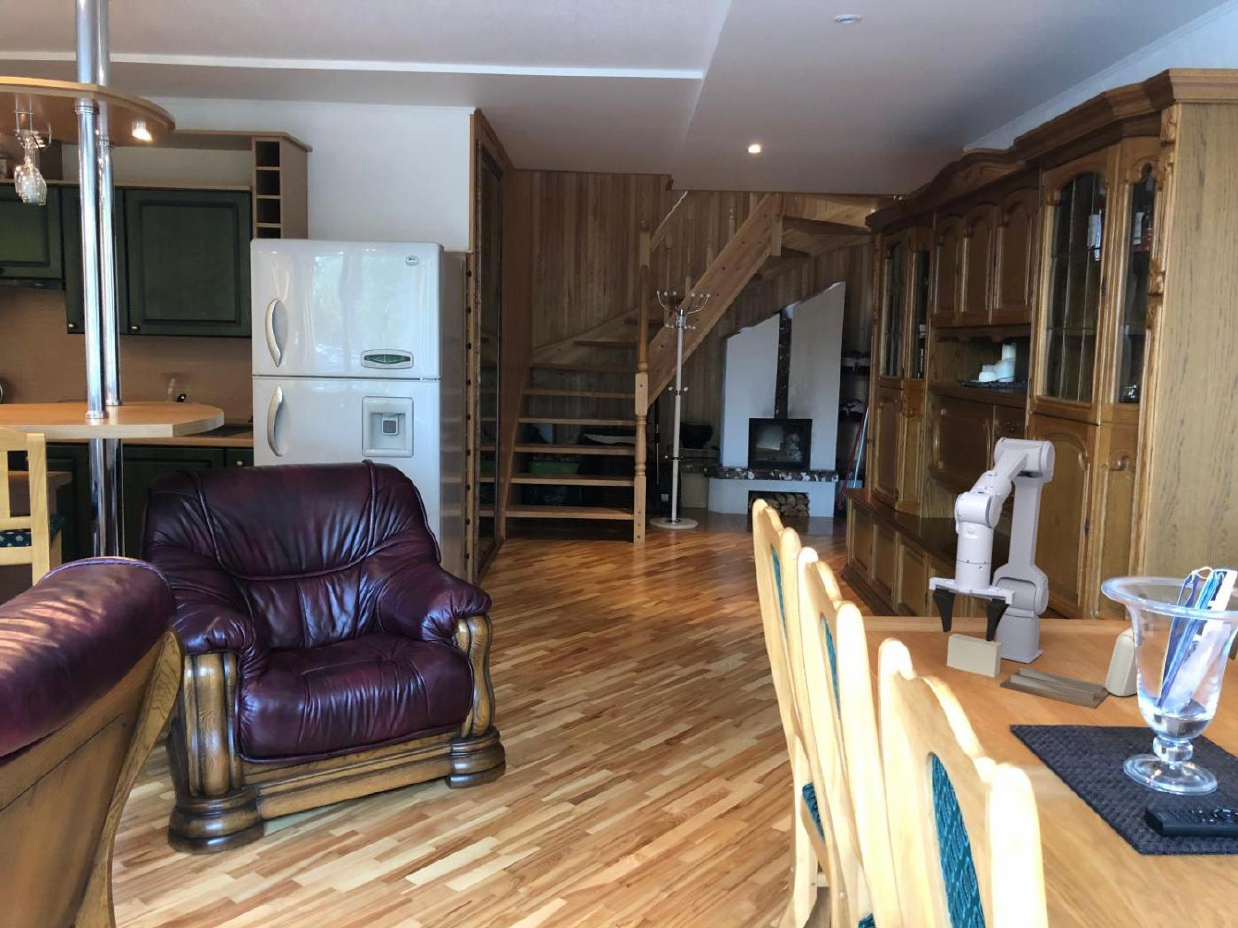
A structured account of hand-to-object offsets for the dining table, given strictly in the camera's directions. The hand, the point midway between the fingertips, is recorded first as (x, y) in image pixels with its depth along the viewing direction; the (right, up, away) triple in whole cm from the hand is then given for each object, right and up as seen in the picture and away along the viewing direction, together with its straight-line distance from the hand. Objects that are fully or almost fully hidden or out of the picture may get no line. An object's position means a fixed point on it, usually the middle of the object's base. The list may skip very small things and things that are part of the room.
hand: (968, 635), depth 173 cm
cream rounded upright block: (+30, -11, +4) cm, 32 cm away
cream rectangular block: (+6, -9, +13) cm, 17 cm away
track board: (+17, -10, +4) cm, 20 cm away
